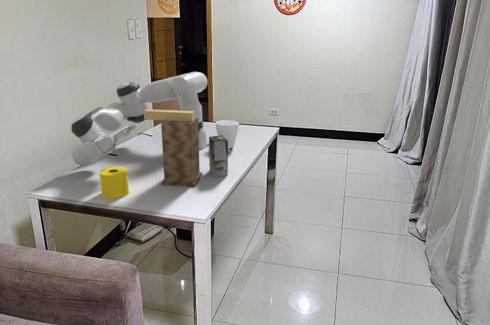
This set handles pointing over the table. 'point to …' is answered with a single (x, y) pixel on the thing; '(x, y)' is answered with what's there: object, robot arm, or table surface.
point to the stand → (180, 153)
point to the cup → (228, 130)
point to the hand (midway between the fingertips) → (130, 128)
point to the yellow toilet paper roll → (114, 182)
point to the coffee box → (218, 155)
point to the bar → (169, 115)
